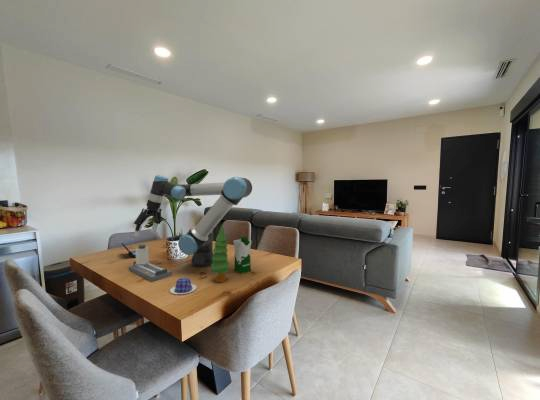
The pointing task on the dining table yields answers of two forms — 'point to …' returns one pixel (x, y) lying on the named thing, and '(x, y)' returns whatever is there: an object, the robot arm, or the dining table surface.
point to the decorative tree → (220, 256)
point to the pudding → (183, 286)
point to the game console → (133, 254)
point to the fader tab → (142, 255)
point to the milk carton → (242, 255)
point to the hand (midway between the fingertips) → (144, 234)
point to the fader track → (150, 271)
